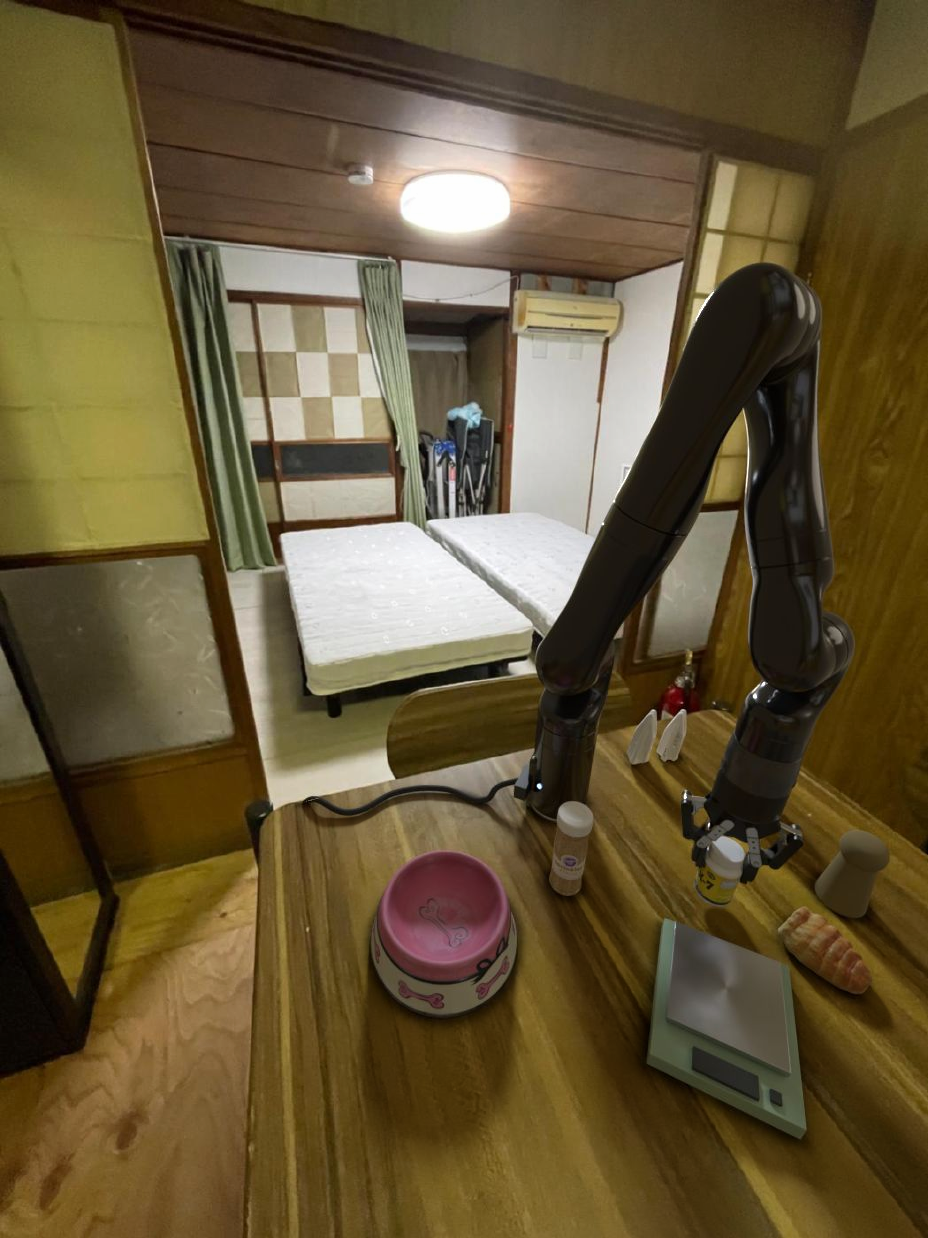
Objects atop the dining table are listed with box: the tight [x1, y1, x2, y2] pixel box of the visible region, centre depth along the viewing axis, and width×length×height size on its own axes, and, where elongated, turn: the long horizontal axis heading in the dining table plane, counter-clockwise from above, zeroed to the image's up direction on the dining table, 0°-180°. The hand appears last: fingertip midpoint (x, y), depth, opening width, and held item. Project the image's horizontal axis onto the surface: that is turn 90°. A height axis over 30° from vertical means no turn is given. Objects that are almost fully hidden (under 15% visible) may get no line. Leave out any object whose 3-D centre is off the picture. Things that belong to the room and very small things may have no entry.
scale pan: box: [666, 921, 791, 1077], centre depth 57 cm, size 12×12×1 cm
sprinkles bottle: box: [548, 801, 594, 897], centre depth 69 cm, size 5×5×13 cm
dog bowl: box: [369, 849, 518, 1019], centre depth 63 cm, size 18×19×7 cm
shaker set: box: [626, 708, 687, 765], centre depth 93 cm, size 12×4×11 cm, turn 107°
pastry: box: [777, 906, 874, 995], centre depth 62 cm, size 9×7×4 cm
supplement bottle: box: [693, 835, 746, 908], centre depth 67 cm, size 5×5×8 cm
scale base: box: [646, 917, 808, 1140], centre depth 57 cm, size 14×16×2 cm
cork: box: [813, 829, 891, 919], centre depth 68 cm, size 6×6×11 cm
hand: (719, 869), depth 67 cm, fingers closed on supplement bottle, 4 cm apart
